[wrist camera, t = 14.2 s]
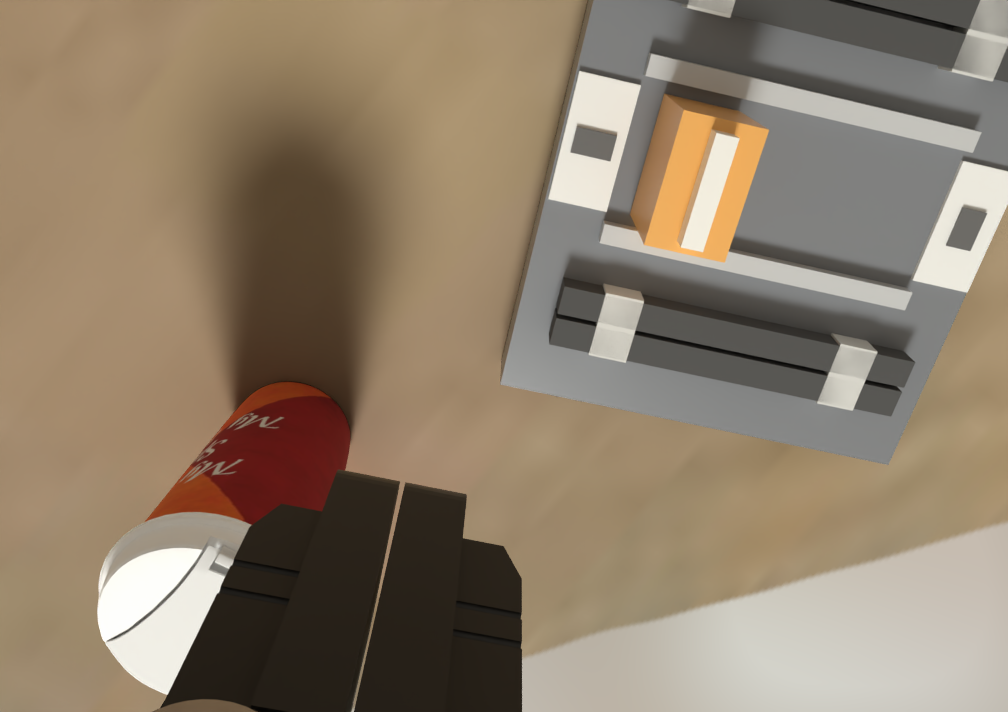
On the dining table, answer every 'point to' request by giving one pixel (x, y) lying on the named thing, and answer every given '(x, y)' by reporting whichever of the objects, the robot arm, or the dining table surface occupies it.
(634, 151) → the breaker panel
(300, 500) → the paper cup
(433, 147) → the dining table surface
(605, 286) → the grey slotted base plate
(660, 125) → the block
